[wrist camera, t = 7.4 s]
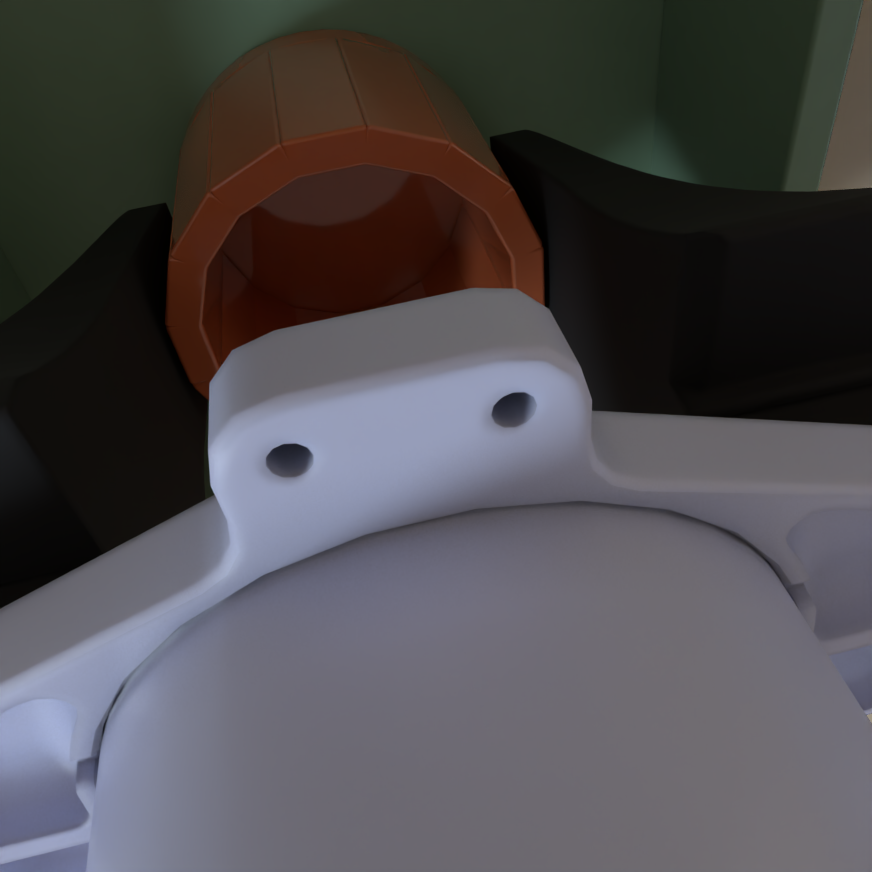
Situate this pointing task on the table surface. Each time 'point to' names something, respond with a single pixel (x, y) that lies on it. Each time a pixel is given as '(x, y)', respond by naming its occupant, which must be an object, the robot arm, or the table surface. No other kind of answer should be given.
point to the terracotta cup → (332, 196)
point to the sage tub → (446, 54)
